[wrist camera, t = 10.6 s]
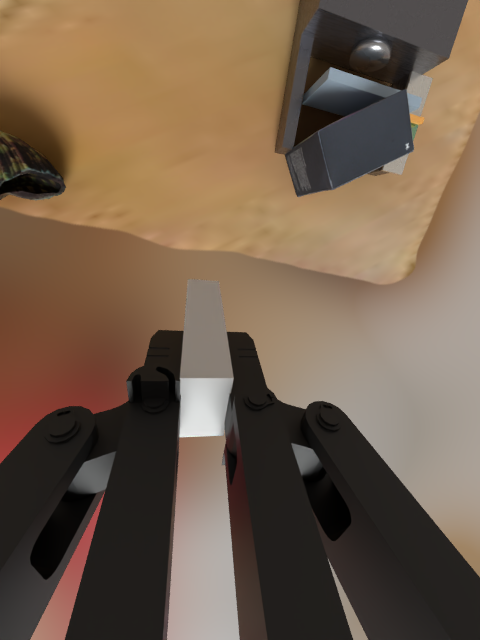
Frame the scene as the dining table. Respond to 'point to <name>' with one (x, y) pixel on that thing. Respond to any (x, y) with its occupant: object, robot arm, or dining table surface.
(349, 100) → the blue-grey flat panel
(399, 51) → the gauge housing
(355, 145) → the small box
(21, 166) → the seashell
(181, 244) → the dining table surface
